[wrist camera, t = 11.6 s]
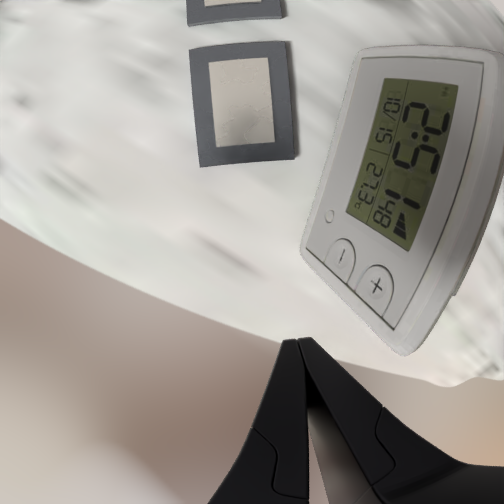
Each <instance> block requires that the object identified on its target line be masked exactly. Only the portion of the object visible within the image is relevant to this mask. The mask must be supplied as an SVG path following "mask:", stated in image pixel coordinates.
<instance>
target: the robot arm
mask: <svg viewBox="0 0 504 504" xmlns="http://www.w3.org/2000/svg"><path fill="white" fill-rule="evenodd" d="M251 427H252V428H250V431H249V433H248V435H247V438H246V440H245V442H244V444H243V447H242V449H241V451H240V453H239V455H238V457H237V459H236V460H235V462H234V464H233V466H232V468H231V469H230V471H229V472H228V474H227V475H226V477H225V479H224V480H223V482H222V483H221V485H220V486H219V488H218V489H217V491H216V492H215V493H214V495H213V497H212V498H211V499H210V501H209V502H208V504H309V501H308V500H309V437H308V428H309V431H310V435H311V439H312V442H313V446H314V450H315V453H316V457H317V461H318V464H319V468H320V471H321V475H322V478H323V482H324V486H325V490H326V493H327V497H328V501H329V504H504V467H501V466H483V465H473V464H467V463H464V462H461V461H458V460H456V459H454V458H452V457H450V456H449V455H447V454H446V453H444V452H443V451H441V450H440V449H438V448H437V447H436V446H434V445H432V444H431V443H430V442H428V441H427V440H425V439H424V438H422V437H421V436H419V435H418V434H416V433H415V432H414V431H412V430H411V429H410V428H409V427H407V426H406V425H405V424H403V423H402V422H401V421H400V420H399V419H398V418H396V417H395V416H394V415H393V414H392V413H391V412H390V411H389V410H388V409H387V408H385V407H383V406H382V404H381V403H380V402H379V401H378V400H377V399H376V398H375V397H374V396H372V395H371V394H370V393H369V392H368V391H367V390H366V389H365V388H364V387H363V386H362V385H361V384H360V383H359V382H357V380H355V379H354V378H353V377H352V376H351V375H350V374H349V373H348V372H347V371H346V370H345V369H344V368H343V367H342V366H340V364H339V363H338V362H337V361H335V360H334V359H333V358H332V357H331V356H330V355H329V354H328V353H327V352H326V351H325V350H324V349H323V348H322V347H321V346H320V345H319V344H318V343H317V342H316V341H315V340H314V339H313V338H311V337H304V338H298V339H297V340H296V339H286V340H283V341H282V344H281V347H280V350H279V352H278V355H277V358H276V361H275V364H274V367H273V370H272V373H271V375H270V378H269V381H268V384H267V386H266V389H265V392H264V394H263V397H262V400H261V402H260V405H259V408H258V410H257V413H256V415H255V418H254V421H253V423H252V426H251Z"/></svg>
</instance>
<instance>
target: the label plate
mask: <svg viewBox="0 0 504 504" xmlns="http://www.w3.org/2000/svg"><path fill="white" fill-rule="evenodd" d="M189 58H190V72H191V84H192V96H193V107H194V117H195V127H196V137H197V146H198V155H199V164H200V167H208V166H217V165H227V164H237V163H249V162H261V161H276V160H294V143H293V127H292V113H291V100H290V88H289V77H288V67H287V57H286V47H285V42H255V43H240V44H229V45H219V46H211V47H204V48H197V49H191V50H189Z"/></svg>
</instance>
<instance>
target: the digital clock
mask: <svg viewBox="0 0 504 504" xmlns="http://www.w3.org/2000/svg"><path fill="white" fill-rule="evenodd" d="M503 174H504V55H503V54H500V53H498V52H494V51H490V50H484V49H477V48H469V47H457V46H439V45H402V46H383V47H372V48H367V49H363V50H361V51H359V52H358V53H357V55H356V57H355V59H354V62H353V66H352V70H351V73H350V77H349V81H348V84H347V88H346V92H345V96H344V99H343V103H342V107H341V110H340V114H339V118H338V121H337V125H336V128H335V132H334V135H333V139H332V142H331V146H330V149H329V153H328V156H327V159H326V163H325V166H324V169H323V173H322V176H321V179H320V182H319V186H318V189H317V192H316V195H315V198H314V202H313V205H312V208H311V211H310V214H309V217H308V220H307V224H306V227H305V230H304V233H303V236H302V240H301V244H300V254H301V256H302V258H303V259H304V261H305V262H306V263H307V264H308V266H309V267H310V268H311V269H312V270H313V271H314V272H315V273H316V274H317V275H318V276H319V277H320V278H321V279H322V280H323V281H324V282H325V283H326V284H327V285H328V286H329V287H330V288H331V289H332V290H333V291H334V292H335V293H336V294H337V295H338V296H339V297H340V298H341V299H342V300H343V301H344V302H345V303H346V304H347V305H348V306H349V307H350V308H351V309H352V310H353V311H354V312H355V313H356V314H357V315H358V316H359V317H360V318H361V319H362V320H363V321H364V322H365V323H366V324H367V325H368V326H369V327H370V328H371V329H372V330H373V331H374V332H375V333H376V334H377V336H378V337H379V338H380V339H381V340H382V341H383V342H384V343H385V344H386V345H388V346H389V347H390V348H391V349H392V350H393V351H394V352H395V353H397V354H399V355H400V356H407V355H409V354H411V353H413V352H414V351H416V350H417V349H418V348H419V347H420V346H421V345H422V344H423V342H424V341H425V340H426V338H427V337H428V335H429V334H430V332H431V331H432V329H433V327H434V326H435V324H436V322H437V321H438V319H439V317H440V316H441V314H442V312H443V311H444V309H445V307H446V305H447V304H448V302H449V300H450V298H451V297H452V296H455V295H456V293H457V291H458V290H459V288H460V286H461V284H462V282H463V280H464V278H465V276H466V274H467V272H468V269H469V267H470V265H471V263H472V261H473V259H474V256H475V254H476V252H477V249H478V247H479V245H480V242H481V240H482V237H483V235H484V232H485V230H486V227H487V224H488V222H489V219H490V216H491V213H492V210H493V208H494V205H495V201H496V198H497V195H498V192H499V188H500V185H501V181H502V178H503Z"/></svg>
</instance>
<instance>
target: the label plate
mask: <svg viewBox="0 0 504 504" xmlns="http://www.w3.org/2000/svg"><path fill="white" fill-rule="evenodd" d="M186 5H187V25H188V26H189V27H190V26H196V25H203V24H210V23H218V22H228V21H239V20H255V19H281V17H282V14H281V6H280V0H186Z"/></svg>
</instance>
